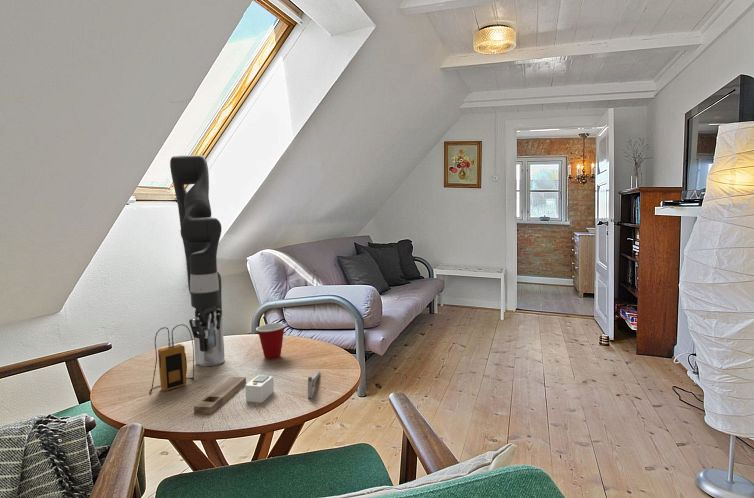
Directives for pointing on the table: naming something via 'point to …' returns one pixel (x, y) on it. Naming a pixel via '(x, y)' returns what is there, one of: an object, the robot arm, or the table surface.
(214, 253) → the robot arm
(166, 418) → the table surface
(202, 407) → the bar
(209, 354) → the grey stepped cylinder
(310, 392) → the caliper
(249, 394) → the block
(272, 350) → the plastic cup
